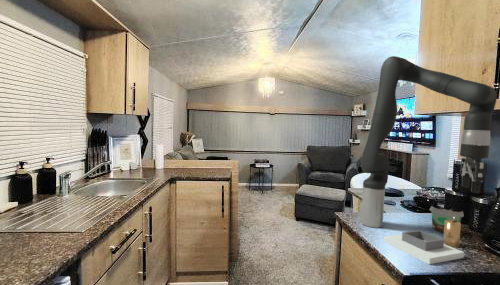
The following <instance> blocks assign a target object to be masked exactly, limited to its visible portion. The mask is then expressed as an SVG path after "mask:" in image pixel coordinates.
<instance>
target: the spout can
mask: <svg viewBox="0 0 500 285" xmlns="http://www.w3.org/2000/svg"><path fill="white" fill-rule="evenodd" d="M461 226H462V223H461V222H457V217H456V216H453V220H445V224H444V233H443V237H442V239H443V240H444V244H445V245H448V246H450V247H453V248H459V247H460V239H461Z"/></svg>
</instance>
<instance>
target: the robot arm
mask: <svg viewBox="0 0 500 285" xmlns="http://www.w3.org/2000/svg"><path fill="white" fill-rule="evenodd" d="M379 74H380V75H379V83H378V85H379V86H378V90H377V95H376V100H375V106H374V109H373V114H372V118H371V124H370V127H369V131H368V136H367V140H366V144H365V146H364V148H363V149H364V150H363V151H362V155H361V159H360V168H361V170H362V171H363V172H364V173H366V174H370V175H369V176H368V177H367V178H366V179H364V180H363V182H362V198H361V200H362V201H360V204H359V218H358V221H359V222H360V223H361V224H362V225H363V226H366V227H370V228H375V229H377V228H382V227H383V224H384V213H385V212H384V210H385V195H386V185H387V183H388V180H389V172H390V160H389V157H388V155H386V154H385V153H382V152H380V149H381V146H382V144H383V143H384V142H385V140H386V138H387V137H388V136H389V135H390V133H391V132H392V131H393V128H394V127H395V124H396V120H397V115H398V104H397V97H396V96H397V95H396V94H397V93H396V91H397V86H398V82H399V81H402V82H408V83H409V82H410V83H414V84H417V85H420V86H421V87H422V86H423V87H425V88H426V89H428V90H431V91H433V92H436V93H437V94H442V95H445V96H447V97H452V98H455V99H457V100H459V101H462V102H464V103H467V104H469V109H468V113H466V114H465V117H464V119H463V130H462V134H461V141H460V147H459V148H460V150H459V156H461V157H462V158H461V159H460V160H461V163H460V169H459V175H461V188H465V189H470V192H471V193H473V194H480V193H481V188H482V183H483V182H486V178H487V176H486V175H487V166H488V165H487V162H483V161H482V160H483V159H485V160H486V159H488V158H489V156H490V145H491V126H492V115H493V113H494V110H495V107H496V103H497V91H496V90H495V88H494V87H492V86H490V85H487V84H485V83H481V82H477V81H473V80H467V79H463V78H461V77H459V76H456V75H452V74H448V73H445V72H442V71H441V72H440V71H435V70H431V69H428V68H424V67H421V66H419V65H418V64H415V63H414V62H411V61H409V60H408V59H406V58H403V57H400V56H395V55H393V56H390V57H389V56H388V57H387V58H386V59H385V60H384V61H383V63H382V65H381V69H380V73H379Z"/></svg>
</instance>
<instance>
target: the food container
mask: <svg viewBox="0 0 500 285" xmlns="http://www.w3.org/2000/svg"><path fill="white" fill-rule="evenodd" d="M429 211H430V212H431V223H432V224H431V225H432V226H431V227H432V229H433V230H434V231H437V232H439V233H442V234H444V224H445V220H453V216H456V217H457V222H460V223H461V221H462V218H464V215H465V213H464V211H463V210H462V211H455V210H454V211H453V210H450V209H447V208H446V209H445V208H444V209H443V208H436V207H434V206H433V205H431V206H430V208H429Z"/></svg>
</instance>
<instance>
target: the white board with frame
mask: <svg viewBox="0 0 500 285" xmlns="http://www.w3.org/2000/svg"><path fill="white" fill-rule="evenodd" d="M401 233H402V234H394V235H388V236H387V235H386V236H384V238H383V239H384V240H383V242H384V243H385V244H388V245H390V246H392V247H394V248H396V249H398V250H399V251H402V252H404V253H406V254H408V255H409V256H412V257H414V258H416V259H418V260H420V261H421V262H423V263H426V264H428V265H434V264H437V263H443V262H450V261H453V260H458V259H459V260H460V259H464V256H465V252H464V251H462V250H460V249H457V248H456V247H450V246H448V245H445V244H444V240H443V238H441V237H438V236H436V235H433V234H430V233H428V232H425V231H422V230H418V229H417V230H413V231H405V232H401Z"/></svg>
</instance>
